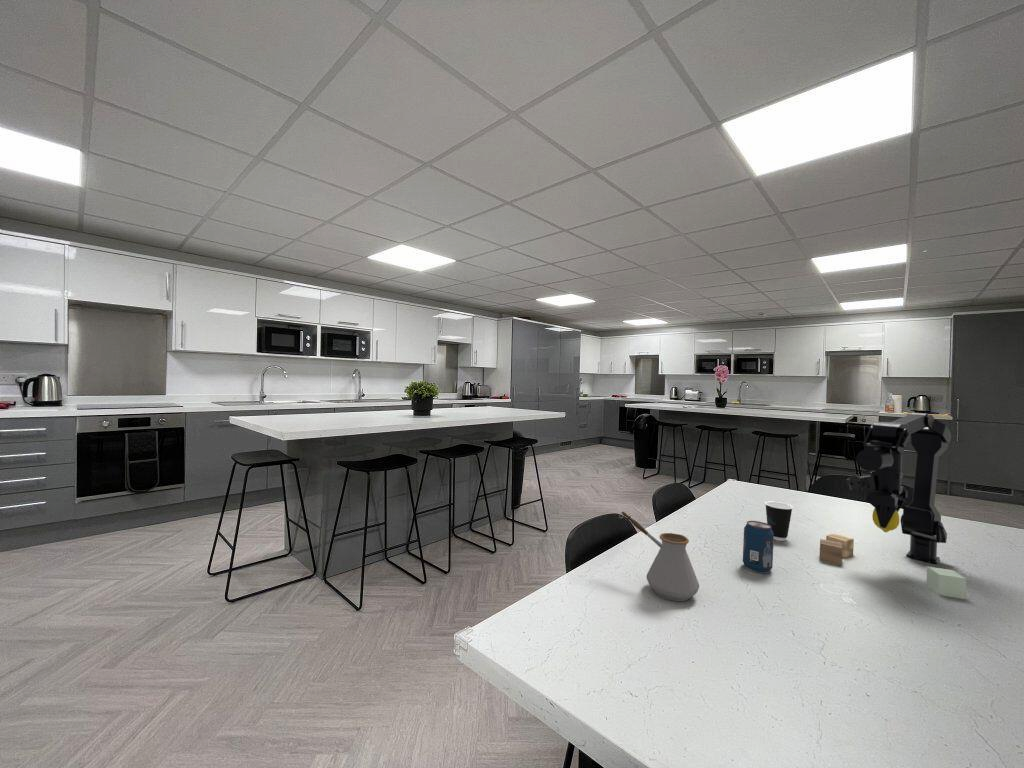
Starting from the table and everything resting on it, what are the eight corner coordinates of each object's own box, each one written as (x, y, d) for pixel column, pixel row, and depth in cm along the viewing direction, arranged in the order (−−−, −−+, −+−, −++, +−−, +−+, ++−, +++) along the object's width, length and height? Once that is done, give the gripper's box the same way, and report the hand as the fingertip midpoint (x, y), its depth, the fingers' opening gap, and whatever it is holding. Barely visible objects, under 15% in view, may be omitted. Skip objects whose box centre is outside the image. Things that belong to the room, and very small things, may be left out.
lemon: (904, 536, 111) (905, 506, 111) (880, 534, 112) (881, 504, 112) (890, 530, 116) (891, 501, 116) (867, 527, 118) (868, 499, 118)
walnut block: (819, 555, 124) (820, 538, 124) (840, 560, 121) (841, 543, 121) (819, 560, 120) (820, 543, 120) (841, 565, 117) (842, 548, 117)
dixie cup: (794, 538, 137) (795, 505, 137) (788, 544, 132) (789, 509, 132) (767, 532, 143) (768, 500, 143) (760, 537, 137) (761, 503, 137)
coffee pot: (708, 596, 96) (711, 531, 96) (680, 611, 89) (683, 541, 89) (632, 562, 113) (634, 507, 113) (603, 572, 106) (606, 514, 106)
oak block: (833, 549, 129) (834, 533, 129) (853, 555, 125) (853, 538, 125) (825, 551, 127) (826, 535, 127) (845, 558, 123) (845, 541, 123)
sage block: (926, 585, 106) (927, 566, 106) (952, 590, 104) (952, 570, 104) (937, 594, 102) (938, 574, 102) (965, 599, 100) (965, 578, 100)
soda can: (747, 560, 117) (748, 518, 117) (775, 569, 112) (777, 524, 113) (738, 567, 113) (740, 523, 113) (768, 577, 108) (769, 530, 108)
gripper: (858, 460, 126) (857, 512, 126) (841, 466, 115) (839, 523, 115) (909, 467, 118) (907, 522, 118) (895, 474, 106) (893, 535, 106)
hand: (885, 525), depth 114 cm, fingers closed on lemon, 5 cm apart
